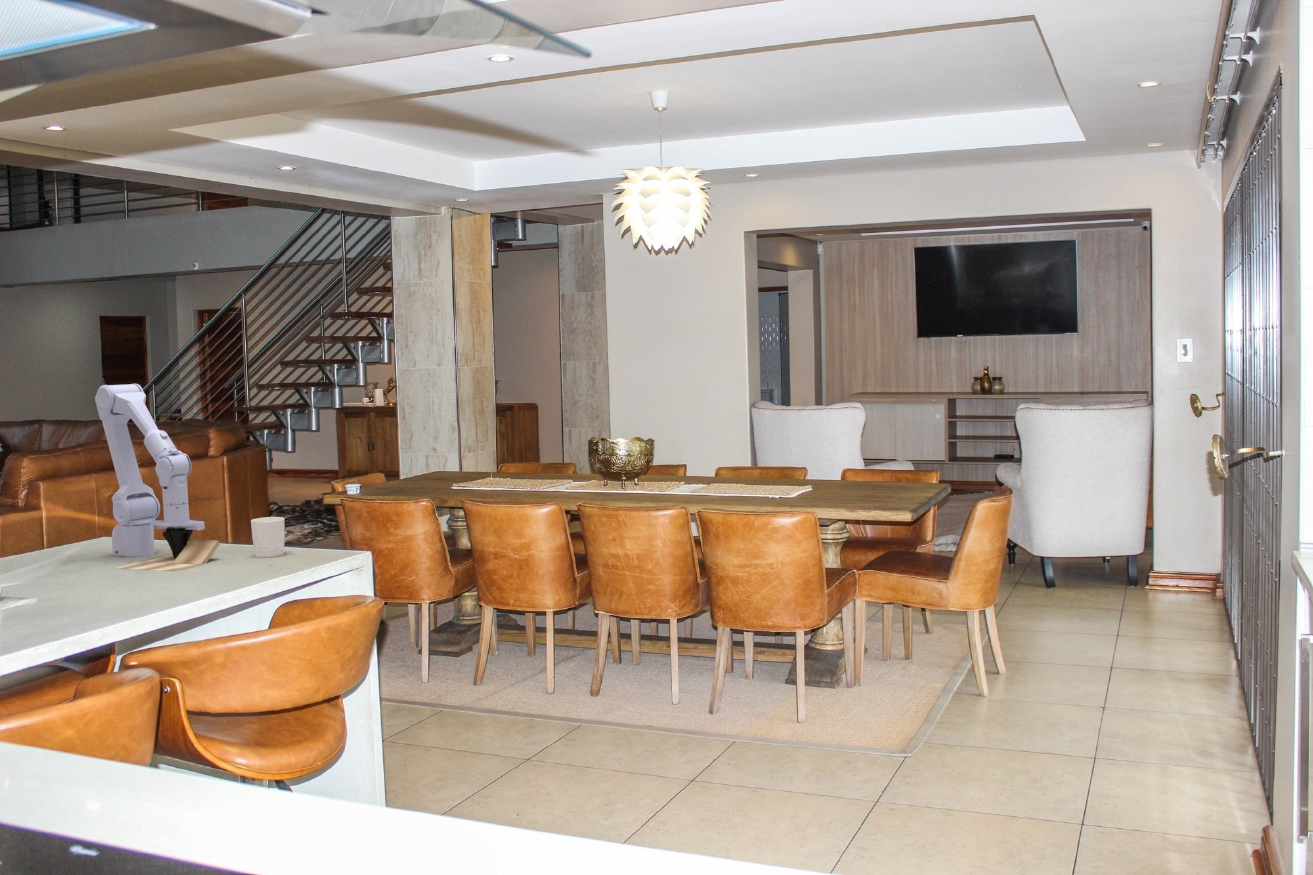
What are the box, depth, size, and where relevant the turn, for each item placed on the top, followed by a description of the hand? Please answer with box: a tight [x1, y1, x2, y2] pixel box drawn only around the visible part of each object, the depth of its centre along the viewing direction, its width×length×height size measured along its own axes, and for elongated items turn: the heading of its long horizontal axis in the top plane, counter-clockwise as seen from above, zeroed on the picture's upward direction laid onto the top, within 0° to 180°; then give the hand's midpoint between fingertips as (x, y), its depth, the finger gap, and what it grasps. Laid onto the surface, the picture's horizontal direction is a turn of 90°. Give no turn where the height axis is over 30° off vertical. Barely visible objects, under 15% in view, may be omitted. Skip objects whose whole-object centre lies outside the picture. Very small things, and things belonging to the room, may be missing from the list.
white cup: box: [250, 516, 286, 558], centre depth 282 cm, size 8×8×10 cm
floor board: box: [115, 561, 201, 573], centre depth 269 cm, size 18×8×1 cm, turn 73°
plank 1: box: [143, 553, 176, 563], centre depth 278 cm, size 8×8×1 cm
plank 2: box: [173, 538, 221, 566], centre depth 275 cm, size 8×8×1 cm
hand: (179, 558), depth 279 cm, fingers closed, pressing on plank 1
